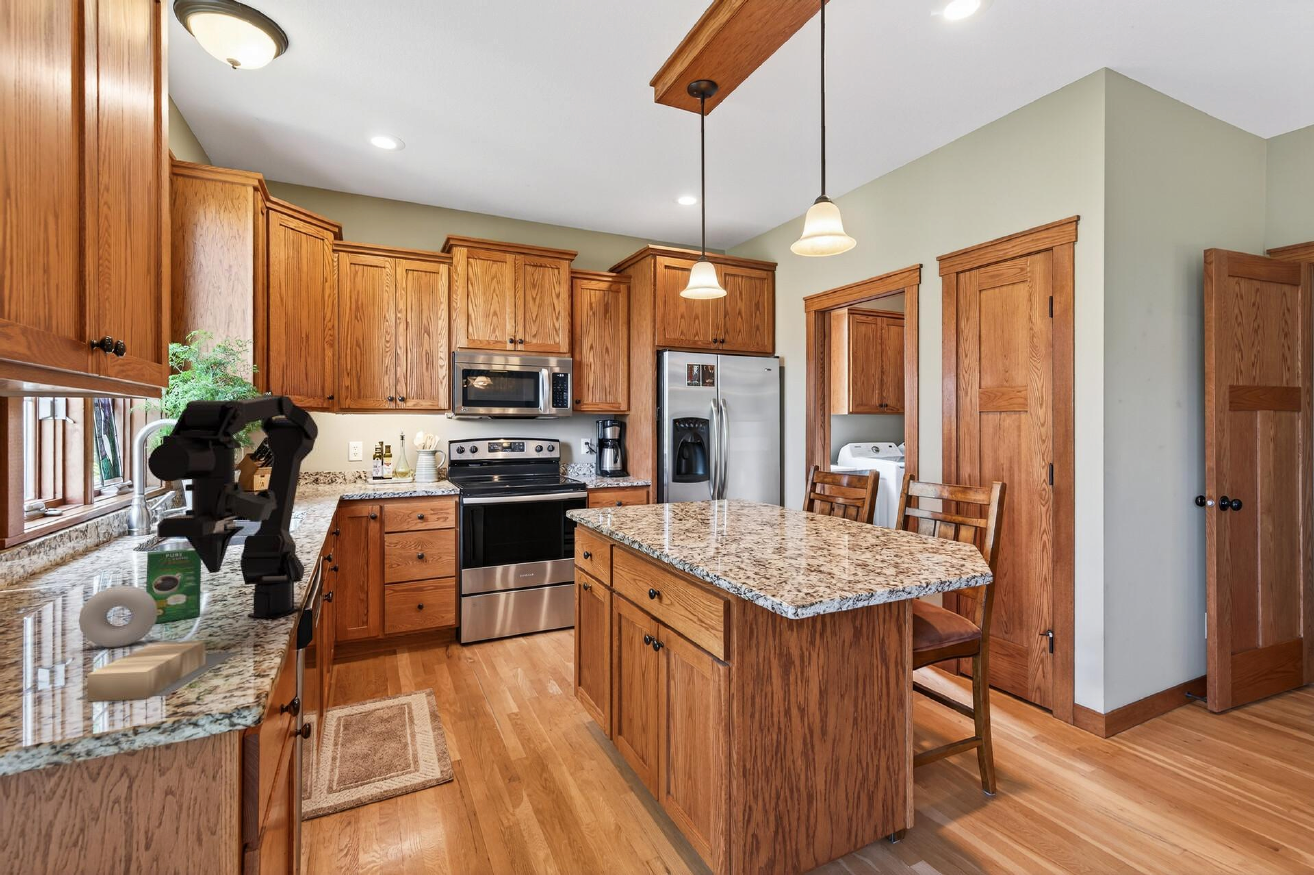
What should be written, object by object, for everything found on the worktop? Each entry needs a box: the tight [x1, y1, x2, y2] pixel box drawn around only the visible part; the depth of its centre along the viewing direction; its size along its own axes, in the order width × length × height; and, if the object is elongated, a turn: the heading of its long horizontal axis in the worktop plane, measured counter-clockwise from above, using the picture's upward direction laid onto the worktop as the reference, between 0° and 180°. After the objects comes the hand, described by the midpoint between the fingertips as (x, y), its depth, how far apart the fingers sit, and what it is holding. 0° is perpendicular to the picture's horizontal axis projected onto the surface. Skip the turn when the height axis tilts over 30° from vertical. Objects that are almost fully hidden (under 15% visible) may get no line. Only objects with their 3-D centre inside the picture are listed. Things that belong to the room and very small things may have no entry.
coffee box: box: [145, 547, 202, 624], centre depth 114 cm, size 8×3×13 cm, turn 133°
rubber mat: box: [76, 651, 239, 701], centre depth 87 cm, size 16×11×1 cm
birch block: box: [86, 640, 206, 702], centre depth 84 cm, size 4×7×12 cm
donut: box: [78, 584, 158, 648], centre depth 99 cm, size 10×4×10 cm, turn 114°
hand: (214, 572), depth 99 cm, fingers closed
